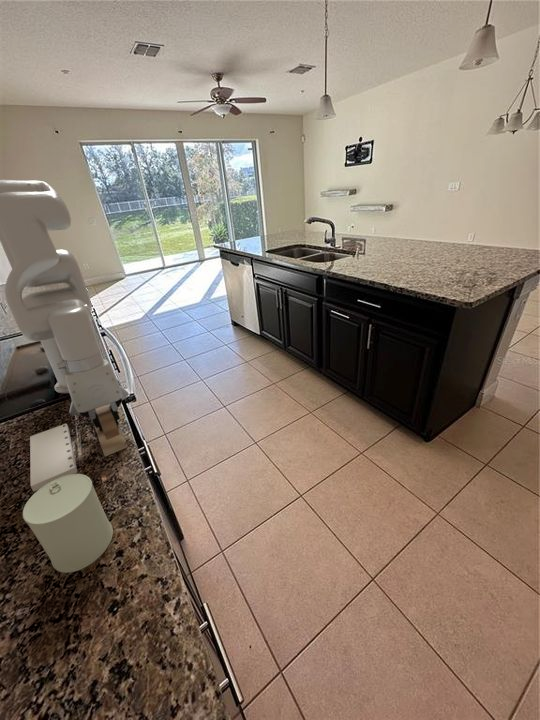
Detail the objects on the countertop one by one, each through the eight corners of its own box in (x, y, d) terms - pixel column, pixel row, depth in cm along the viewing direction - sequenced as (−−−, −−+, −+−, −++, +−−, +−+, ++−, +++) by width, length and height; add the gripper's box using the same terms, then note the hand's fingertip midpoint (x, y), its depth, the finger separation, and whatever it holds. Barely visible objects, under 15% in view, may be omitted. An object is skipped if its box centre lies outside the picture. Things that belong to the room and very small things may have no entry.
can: (103, 509, 57) (82, 462, 52) (121, 543, 51) (99, 493, 46) (46, 544, 51) (16, 495, 46) (59, 586, 45) (25, 535, 40)
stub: (92, 420, 83) (84, 400, 80) (112, 413, 86) (105, 393, 83) (104, 456, 70) (96, 434, 67) (127, 446, 72) (119, 425, 69)
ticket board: (32, 441, 77) (30, 436, 76) (68, 427, 81) (66, 423, 80) (33, 491, 62) (30, 486, 61) (77, 472, 66) (74, 466, 65)
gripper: (42, 379, 62) (73, 448, 70) (126, 355, 70) (145, 419, 78) (41, 366, 67) (70, 431, 76) (119, 346, 76) (137, 406, 84)
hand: (108, 424), depth 77 cm, fingers closed on stub, 3 cm apart
